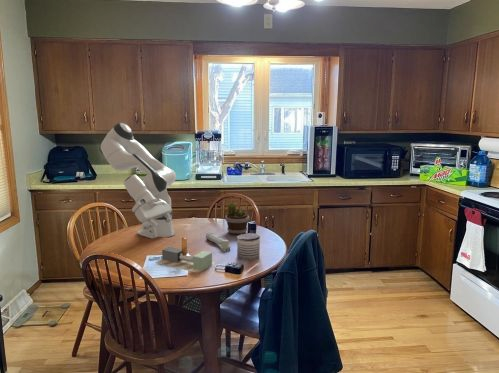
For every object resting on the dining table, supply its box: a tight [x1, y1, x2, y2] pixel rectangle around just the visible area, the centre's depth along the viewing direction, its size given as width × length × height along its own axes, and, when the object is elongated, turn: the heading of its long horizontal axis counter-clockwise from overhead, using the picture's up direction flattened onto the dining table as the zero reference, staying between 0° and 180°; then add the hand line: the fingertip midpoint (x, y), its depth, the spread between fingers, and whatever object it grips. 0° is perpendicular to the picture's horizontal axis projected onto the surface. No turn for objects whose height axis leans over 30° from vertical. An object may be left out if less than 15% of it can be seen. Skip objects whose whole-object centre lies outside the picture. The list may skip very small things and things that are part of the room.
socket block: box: [192, 250, 213, 272], centre depth 176 cm, size 5×8×6 cm, turn 153°
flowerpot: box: [224, 201, 250, 236], centre depth 229 cm, size 14×15×20 cm
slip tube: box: [178, 237, 194, 262], centre depth 181 cm, size 16×3×11 cm, turn 63°
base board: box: [155, 259, 216, 274], centre depth 182 cm, size 25×14×1 cm, turn 63°
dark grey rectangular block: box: [161, 246, 182, 263], centre depth 184 cm, size 9×5×5 cm, turn 63°
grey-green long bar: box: [205, 232, 232, 252], centre depth 208 cm, size 5×7×25 cm
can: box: [236, 232, 261, 261], centre depth 190 cm, size 11×11×12 cm
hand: (163, 224), depth 184 cm, fingers open, 8 cm apart
